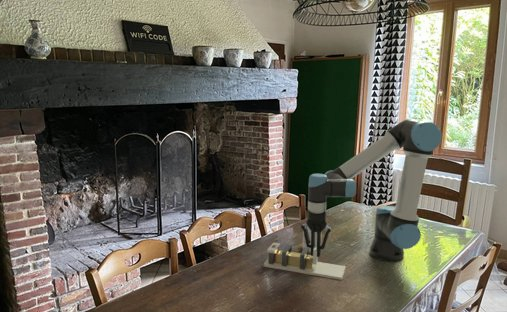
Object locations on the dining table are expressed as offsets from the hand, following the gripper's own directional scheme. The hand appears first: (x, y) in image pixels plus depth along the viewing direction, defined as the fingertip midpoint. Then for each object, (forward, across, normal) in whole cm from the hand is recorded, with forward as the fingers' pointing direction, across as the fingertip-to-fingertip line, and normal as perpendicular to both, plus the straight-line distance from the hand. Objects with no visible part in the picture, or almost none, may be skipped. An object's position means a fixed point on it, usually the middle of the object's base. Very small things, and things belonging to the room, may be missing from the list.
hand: (315, 262), depth 168 cm
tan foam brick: (+2, +11, 0) cm, 11 cm away
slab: (+3, +5, 0) cm, 6 cm away
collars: (+2, +12, 0) cm, 12 cm away
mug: (+3, +7, -20) cm, 21 cm away
